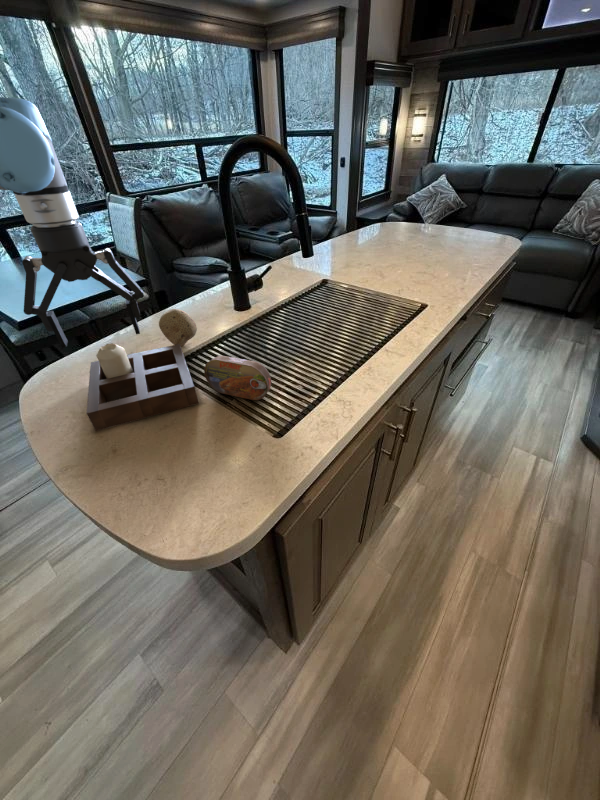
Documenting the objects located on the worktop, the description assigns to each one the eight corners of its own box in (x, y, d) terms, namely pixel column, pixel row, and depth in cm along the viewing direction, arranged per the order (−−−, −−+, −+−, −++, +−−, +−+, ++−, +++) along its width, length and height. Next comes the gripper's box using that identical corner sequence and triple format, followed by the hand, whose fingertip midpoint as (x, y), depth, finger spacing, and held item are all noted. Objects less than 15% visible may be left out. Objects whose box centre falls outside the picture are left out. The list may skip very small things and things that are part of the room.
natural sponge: (192, 333, 96) (185, 300, 89) (205, 346, 90) (197, 311, 84) (161, 343, 91) (151, 308, 85) (172, 356, 86) (161, 320, 79)
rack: (95, 431, 64) (86, 413, 61) (98, 378, 78) (90, 362, 75) (198, 403, 70) (194, 386, 67) (183, 359, 84) (179, 343, 82)
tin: (207, 390, 74) (199, 357, 69) (214, 382, 76) (207, 350, 71) (268, 404, 70) (265, 370, 65) (274, 395, 72) (271, 362, 67)
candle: (131, 392, 74) (115, 353, 68) (106, 392, 74) (88, 353, 68) (140, 377, 78) (126, 340, 72) (117, 378, 78) (101, 340, 72)
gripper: (-46, 234, 49) (28, 359, 62) (136, 220, 57) (167, 333, 70) (-30, 225, 54) (34, 342, 67) (134, 213, 62) (163, 320, 75)
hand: (102, 338), depth 68 cm, fingers open, 13 cm apart
